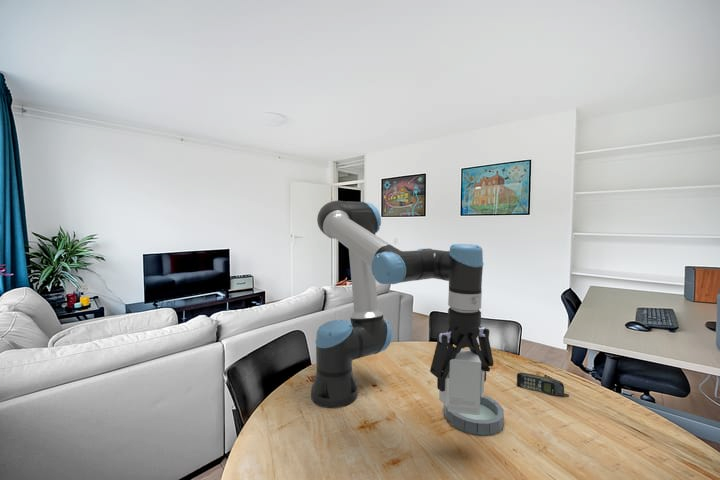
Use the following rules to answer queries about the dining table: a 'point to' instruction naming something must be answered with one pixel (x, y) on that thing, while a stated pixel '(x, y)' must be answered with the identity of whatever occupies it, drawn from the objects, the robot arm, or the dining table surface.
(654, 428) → the dining table surface
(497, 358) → the dining table surface
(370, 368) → the dining table surface
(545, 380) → the mobile phone
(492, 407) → the round tray
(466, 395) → the supplement box
